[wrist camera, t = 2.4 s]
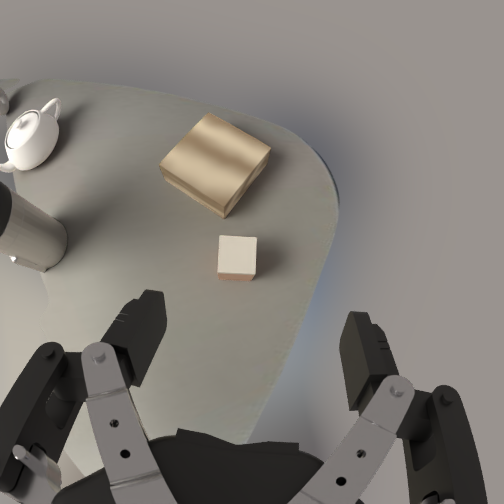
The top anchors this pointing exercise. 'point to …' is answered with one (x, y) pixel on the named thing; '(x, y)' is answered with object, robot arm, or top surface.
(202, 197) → the pine box
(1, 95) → the donut
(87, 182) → the top surface
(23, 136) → the teapot
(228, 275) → the cube
